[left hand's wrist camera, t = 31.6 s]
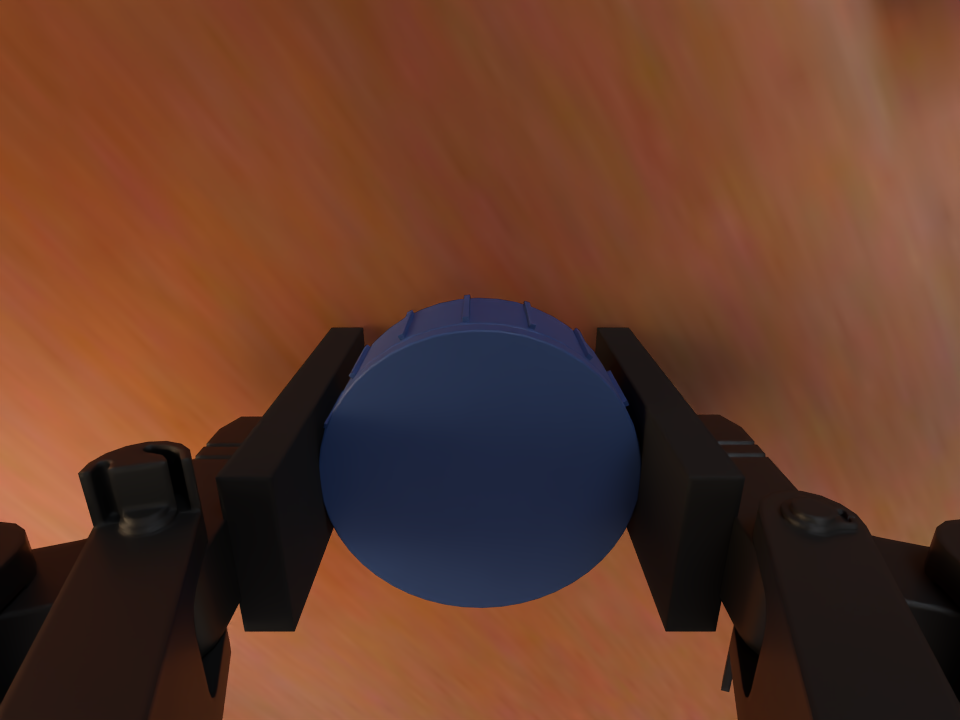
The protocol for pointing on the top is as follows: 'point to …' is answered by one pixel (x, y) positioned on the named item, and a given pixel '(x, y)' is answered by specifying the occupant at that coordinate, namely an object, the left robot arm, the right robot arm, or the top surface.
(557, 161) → the top surface
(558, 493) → the lid
